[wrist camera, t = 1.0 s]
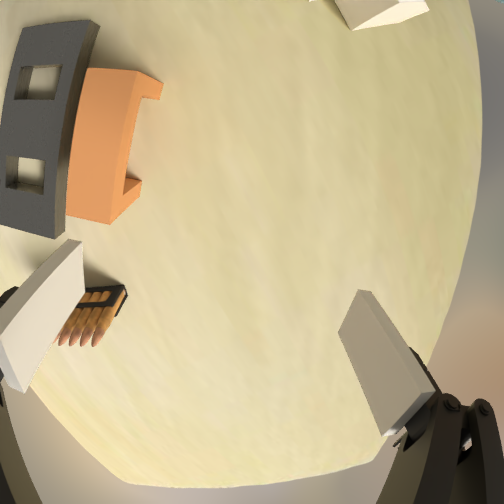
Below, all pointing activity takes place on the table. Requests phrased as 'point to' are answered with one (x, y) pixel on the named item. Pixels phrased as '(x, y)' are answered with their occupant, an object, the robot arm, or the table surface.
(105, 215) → the clip
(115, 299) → the ammunition clip
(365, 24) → the corner bracket
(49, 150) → the gray slotted base board
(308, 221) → the table surface
